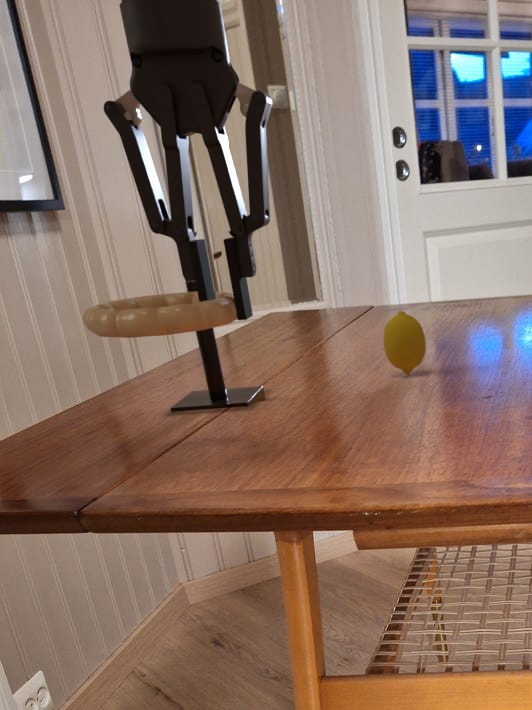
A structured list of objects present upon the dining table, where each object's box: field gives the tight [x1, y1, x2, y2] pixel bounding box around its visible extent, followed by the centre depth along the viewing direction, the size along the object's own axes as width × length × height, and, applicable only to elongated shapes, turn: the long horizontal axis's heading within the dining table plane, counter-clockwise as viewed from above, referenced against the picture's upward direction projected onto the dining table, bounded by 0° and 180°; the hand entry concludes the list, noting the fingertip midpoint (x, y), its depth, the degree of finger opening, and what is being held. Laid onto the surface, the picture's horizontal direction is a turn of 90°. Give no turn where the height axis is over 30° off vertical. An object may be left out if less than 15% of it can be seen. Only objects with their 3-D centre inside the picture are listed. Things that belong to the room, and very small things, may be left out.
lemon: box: [383, 310, 427, 375], centre depth 114 cm, size 6×6×8 cm
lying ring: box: [82, 291, 238, 339], centre depth 77 cm, size 13×13×2 cm
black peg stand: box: [170, 280, 266, 413], centre depth 101 cm, size 9×9×14 cm
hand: (228, 318), depth 77 cm, fingers closed on lying ring, 2 cm apart
